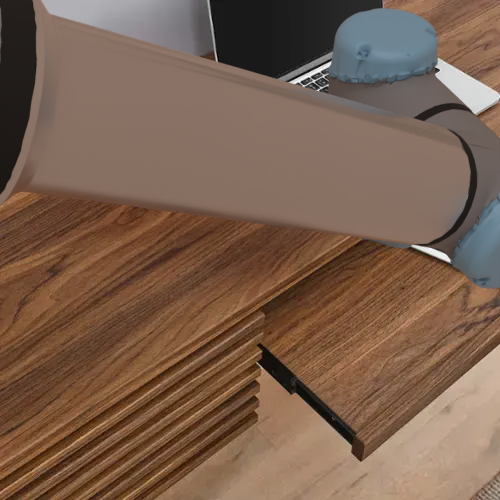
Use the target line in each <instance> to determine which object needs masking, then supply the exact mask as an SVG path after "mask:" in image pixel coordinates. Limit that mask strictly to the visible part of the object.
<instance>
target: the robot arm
mask: <svg viewBox="0 0 500 500" xmlns="http://www.w3.org/2000/svg"><path fill="white" fill-rule="evenodd" d="M333 42H334V43H333V49H332V55H331V62H330V65H329V66H328V68H327V74H328V85H327V92H323V91H320V90H317V89H313V88H310V87H306V86H304V85H303V86H302V85H300V84H299V85H298V84H295V83H291V82H288V81H286V80H282V79H279V78H275V77H271V76H268V75H264V74H261V73H257V72H254V71H250V70H247V69H244V68H241V67H238V66H237V67H236V66H233V65H230V64H226V63H223V62H220V61H216V60H213V59H208V58H205V57H202V56H198V55H195V54H191V53H189V52H186V51H185V52H184V51H180V50H178V49H174V48H170V47H167V46H163V45H161V44H157V43H153V42H150V41H146V40H144V39H140V38H136V37H132V36H129V35H126V34H122V33H118V32H116V31H111V30H107V29H104V28H101V27H97V26H94V25H90V24H86V23H83V22H80V21H76V20H74V19H69V18H66V17H63V16H59V15H56V14H52V13H50V12H49V11H48V9H47V8H46V6H45V4H44V2H43V1H42V0H0V207H1V206H2V205H4V204H5V203H6V202H8V200H10V199H11V198H12V197H13V196H14V195H17V194H18V193H21V192H23V193H29V194H30V193H31V194H36V195H42V196H43V195H44V196H51V197H58V198H59V197H60V198H65V199H74V200H82V201H88V202H95V203H102V204H110V205H117V206H124V207H132V208H139V209H145V210H146V209H147V210H153V211H162V212H169V213H177V214H184V215H190V216H199V217H205V218H214V219H219V220H227V221H233V222H242V223H248V224H249V223H250V224H255V225H256V224H257V225H263V226H271V227H278V228H286V229H293V230H301V231H308V232H315V233H323V234H329V235H336V236H337V235H338V236H345V237H352V238H360V239H362V240H364V241H367V240H368V241H371V242H374V243H377V244H381V245H385V246H388V247H391V248H395V249H401V250H404V249H408V248H410V247H412V246H417V247H423V248H427V249H428V248H430V249H435V250H436V249H437V250H439V251H441V252H442V253H444V254H445V255H446V256H447V258H448V259H449V260H450V261H449V262H450V264H451V265H452V267H453V268H455V269H457V270H459V271H460V272H461V273H462V274H463V275H464V276H465V277H466V278H467V279H468V280H469V281H470V282H471V283H472V284H474V285H475V286H477V287H478V288H481V289H482V288H483V289H487V290H494V289H496V290H497V289H500V136H499V135H498V134H497V133H496V132H494V131H493V130H492V128H490V127H489V126H488V125H487V124H486V123H485V122H484V121H483V120H482V119H480V118H479V117H478V116H477V115H476V114H475V113H474V112H473V110H472V109H471V108H470V107H469V106H468V105H466V103H464V102H463V101H462V99H461V98H460V97H458V96H457V94H455V93H454V92H453V91H452V90H451V89H450V88H449V87H448V86H447V85H446V84H445V83H444V82H443V81H441V80H440V79H439V77H437V76H436V72H435V70H436V66H438V64H439V63H438V62H439V57H438V52H439V51H438V50H439V38H438V34H437V33H436V29H435V28H434V26H433V25H432V24H431V23H430V22H429V21H428V20H427V19H425V18H423V17H422V16H421V15H418V14H416V13H413V12H411V11H407V10H403V9H397V8H392V7H391V8H390V7H389V8H387V7H383V8H382V7H380V8H379V7H377V8H372V9H370V10H365V11H359V12H357V13H354V14H353V15H350V16H349V17H348V18H346V19H344V21H343V22H342V23H341V24H340V25H339V27H338V28H337V30H336V33H335V35H334V41H333Z"/></svg>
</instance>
